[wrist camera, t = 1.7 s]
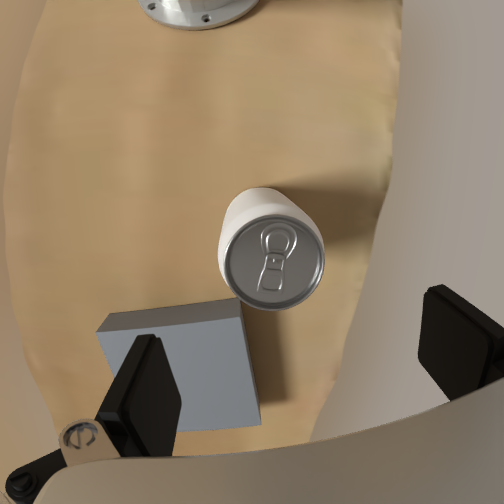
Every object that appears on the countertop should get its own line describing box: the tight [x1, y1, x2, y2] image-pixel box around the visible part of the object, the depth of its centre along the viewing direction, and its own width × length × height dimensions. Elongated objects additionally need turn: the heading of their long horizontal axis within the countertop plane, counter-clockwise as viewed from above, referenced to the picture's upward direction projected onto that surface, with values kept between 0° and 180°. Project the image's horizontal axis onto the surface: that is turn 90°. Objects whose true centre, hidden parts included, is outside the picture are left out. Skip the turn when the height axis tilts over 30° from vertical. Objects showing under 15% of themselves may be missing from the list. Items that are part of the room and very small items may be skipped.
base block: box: [96, 298, 261, 432], centre depth 31 cm, size 14×14×4 cm
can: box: [218, 187, 325, 311], centre depth 23 cm, size 6×6×12 cm
